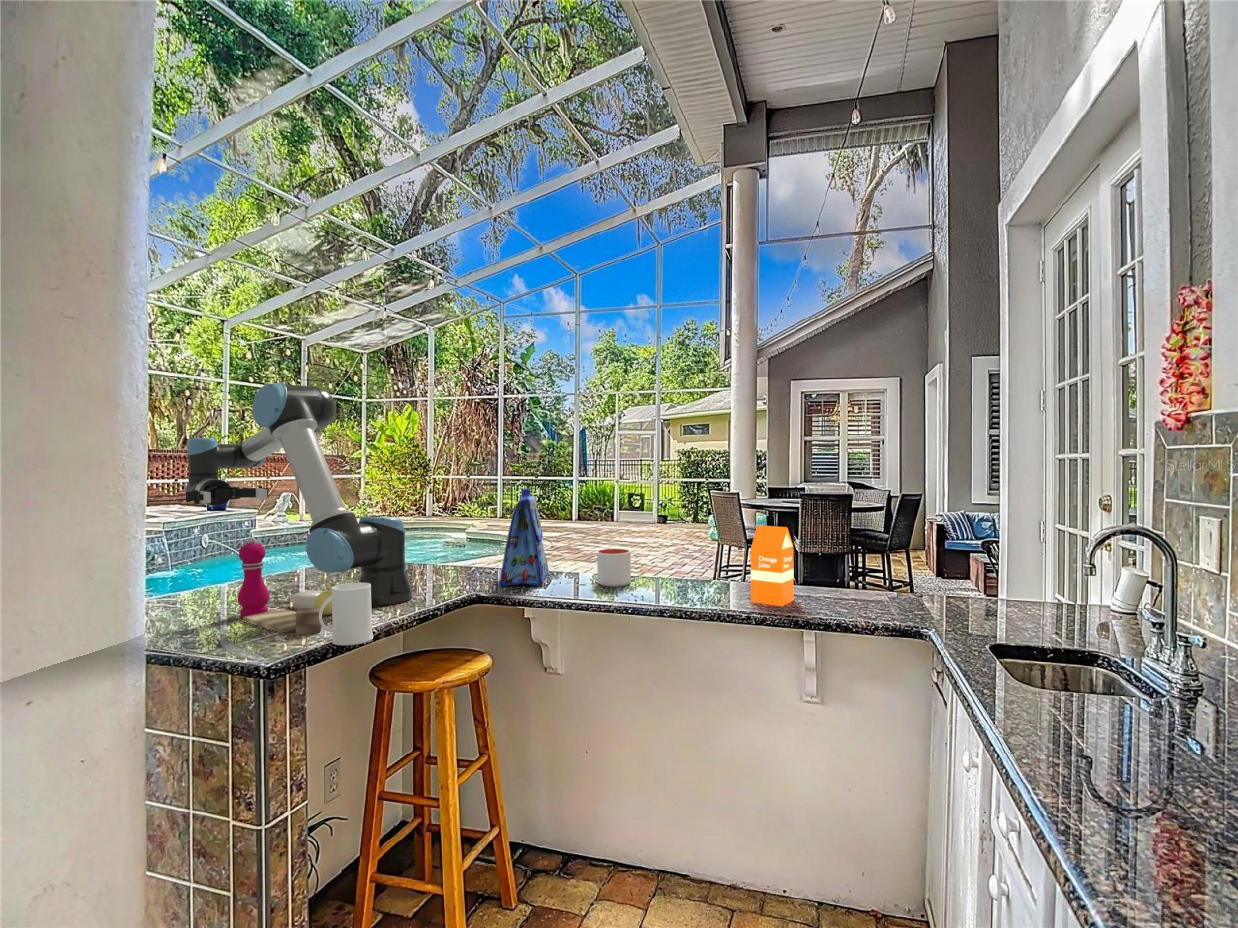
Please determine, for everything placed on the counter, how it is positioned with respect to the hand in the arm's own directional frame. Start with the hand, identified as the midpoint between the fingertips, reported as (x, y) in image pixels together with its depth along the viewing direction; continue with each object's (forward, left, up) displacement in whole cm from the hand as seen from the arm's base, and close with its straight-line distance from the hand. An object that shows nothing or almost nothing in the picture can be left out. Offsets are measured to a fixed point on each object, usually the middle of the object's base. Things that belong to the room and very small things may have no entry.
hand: (238, 496), depth 180 cm
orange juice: (-141, +1, -30) cm, 144 cm away
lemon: (-26, +8, -30) cm, 40 cm away
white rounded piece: (-17, -2, -30) cm, 35 cm away
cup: (-99, -24, -30) cm, 106 cm away
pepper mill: (-7, +7, -30) cm, 32 cm away
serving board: (-18, +15, -30) cm, 38 cm away
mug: (-40, +32, -30) cm, 59 cm away
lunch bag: (-71, -33, -30) cm, 84 cm away
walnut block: (-28, +23, -30) cm, 47 cm away
